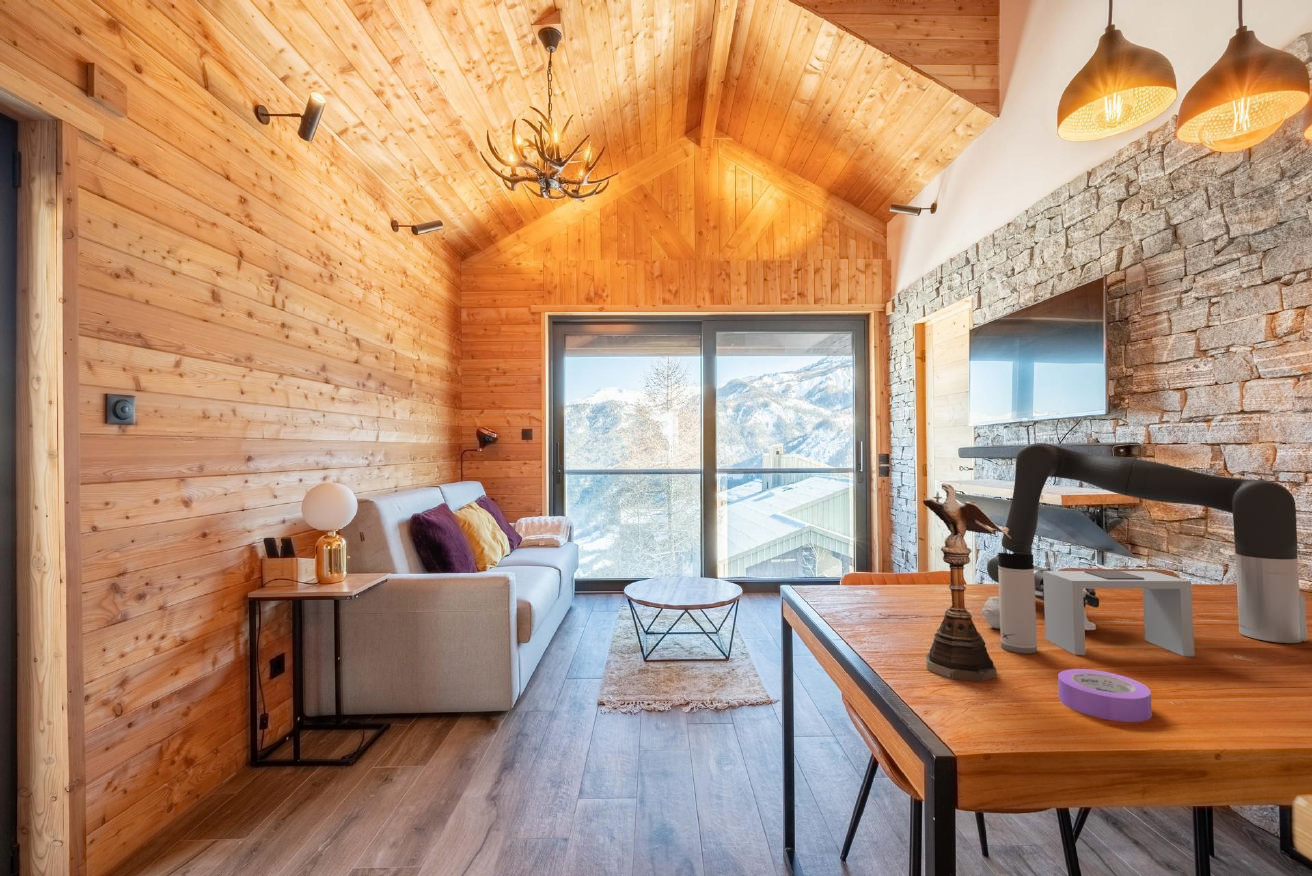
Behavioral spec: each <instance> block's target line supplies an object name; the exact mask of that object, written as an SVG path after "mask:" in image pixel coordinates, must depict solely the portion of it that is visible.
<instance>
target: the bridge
mask: <svg viewBox="0 0 1312 876" xmlns="http://www.w3.org/2000/svg"><path fill="white" fill-rule="evenodd" d="M1084 571H1085V570H1049V571H1043V584H1044V601H1043V603H1044V604H1043V607H1044V610H1043V611H1044V632H1045V633H1044V634H1045V635H1044V636H1045V640H1046V641H1049V642H1050V643H1051V644H1052V643H1053V644H1054V645H1055V646H1057V647H1060V648H1061V649H1063V650H1065V651H1067V652H1068V653H1071V654H1072V655H1075V656H1086V632H1085V631H1086V630H1085V627H1084V601H1083V589H1084V590H1085V589H1097V590H1098V589H1100V590H1101V589H1103V590H1105V589H1107V590H1108V589H1112V590H1116V589H1118V590H1119V589H1120V590H1123V589H1124V590H1126V589H1127V590H1130V589H1131V590H1133V589H1134V590H1135V589H1136V590H1137V589H1138V590H1142V599H1143V600H1142V601H1143V621H1144V623H1143V626H1144V641H1146V642H1148V643H1151V644H1153V645H1156V646H1158V647H1160V648H1163V649H1165V650H1167V651H1170V652H1172V653H1175V654H1177V655H1179V656H1182V657H1195V639H1194V637H1195V636H1194V618H1193V617H1194V615H1193V613H1194V612H1193V597H1192V596H1193V595H1192V594H1193V593H1192V590H1193V589H1192V581H1190V580H1187V579H1184V578H1180V577H1176V576H1173V575H1172V576H1171V575H1168V574H1165V573H1160V572H1156V571H1153V570H1152V571H1150V570H1148V571H1147V570H1133V571H1130V570H1129V571H1127V570H1126V571H1125V570H1124V571H1123V570H1122V571H1121V570H1120V571H1121V572H1124V573H1128V574H1132V575H1135V576H1139V577H1142V578H1144V580H1139V579H1104V578H1101V577H1097V576H1094V575H1091V574H1088V573H1084Z"/></svg>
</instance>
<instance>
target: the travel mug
mask: <svg viewBox="0 0 1312 876" xmlns="http://www.w3.org/2000/svg"><path fill="white" fill-rule="evenodd" d="M997 557H998V561H999V565H998V568H999V569H998V572H999V583H998V595H999V596H998V597H999V601H1000V629H999V630H1000V646H1001V648H1002V649H1004V650H1005V651H1008V652H1010V653H1015V654H1023V655H1031V654H1035V653H1037V652H1038V644H1037V643H1038V641H1037V639H1038V638H1037V635H1038V634H1037V617H1036V616H1037V615H1036V612H1037V611H1036V610H1037V609H1036V608H1037V607H1036V598H1035V581H1034V566H1035V565H1034V554H1033V553H1031V554H1023V553H1016V552H1012V553H1009V552H998V553H997Z"/></svg>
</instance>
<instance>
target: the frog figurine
mask: <svg viewBox="0 0 1312 876" xmlns="http://www.w3.org/2000/svg"><path fill="white" fill-rule="evenodd" d="M983 606H984V607H982V609H981V614H982V615H983V616H984V618H985V619H984V620H985V621H986V623H987V624H988V626H990V627H991V628H993V629H998V630H1000V601H999V596H988V597H987V600H985V602H984V605H983Z"/></svg>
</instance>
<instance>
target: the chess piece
mask: <svg viewBox="0 0 1312 876" xmlns="http://www.w3.org/2000/svg"><path fill="white" fill-rule="evenodd" d="M1086 593H1087V591H1086V590H1085V589H1083V597H1084V598H1085V595H1086ZM1086 603H1088V602H1087V601H1086ZM1086 612H1087V611H1086V607H1084V627H1085V631H1094V630H1096V629H1097V627H1096V626H1097V625H1096V624H1095V623H1094V622H1091V621H1089V619H1088V618H1087V613H1086Z"/></svg>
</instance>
